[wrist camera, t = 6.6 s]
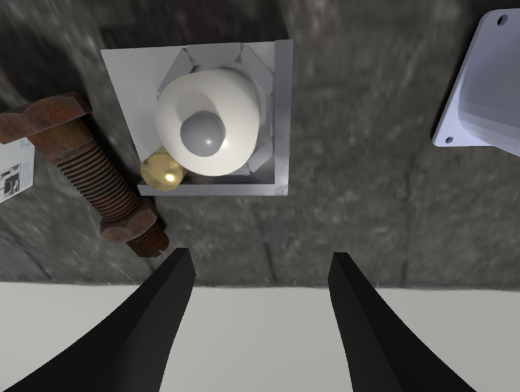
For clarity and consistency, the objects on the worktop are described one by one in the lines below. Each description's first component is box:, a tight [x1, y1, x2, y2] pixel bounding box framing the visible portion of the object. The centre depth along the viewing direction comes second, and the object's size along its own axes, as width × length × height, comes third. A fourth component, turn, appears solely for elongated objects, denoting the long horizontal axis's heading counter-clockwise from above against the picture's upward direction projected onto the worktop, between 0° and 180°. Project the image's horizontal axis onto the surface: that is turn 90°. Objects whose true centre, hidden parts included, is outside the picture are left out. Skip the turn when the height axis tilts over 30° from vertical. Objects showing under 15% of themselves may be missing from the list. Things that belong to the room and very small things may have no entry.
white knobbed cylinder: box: [155, 67, 262, 176], centre depth 13 cm, size 5×5×6 cm
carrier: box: [100, 39, 293, 196], centre depth 16 cm, size 12×10×4 cm
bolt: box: [0, 91, 169, 259], centre depth 19 cm, size 6×5×15 cm
